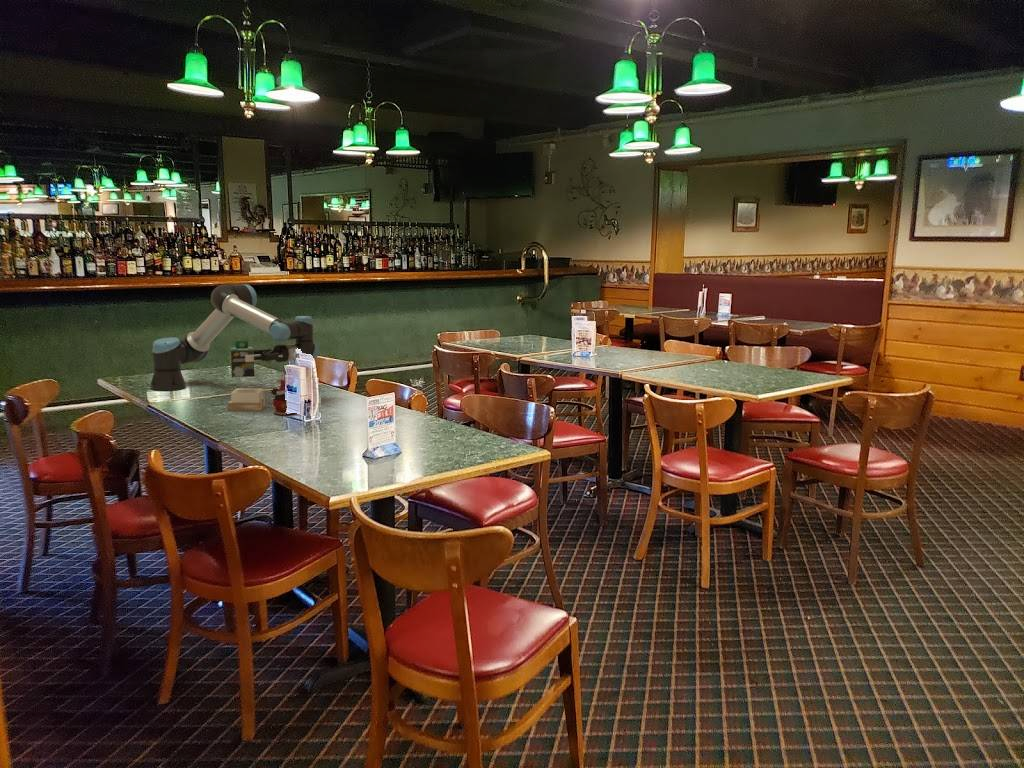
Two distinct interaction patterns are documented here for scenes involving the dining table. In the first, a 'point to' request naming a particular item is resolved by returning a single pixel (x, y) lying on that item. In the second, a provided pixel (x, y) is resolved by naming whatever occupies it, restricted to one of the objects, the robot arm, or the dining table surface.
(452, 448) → the dining table surface
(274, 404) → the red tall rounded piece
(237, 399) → the tower top
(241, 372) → the chalk box
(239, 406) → the tower base
